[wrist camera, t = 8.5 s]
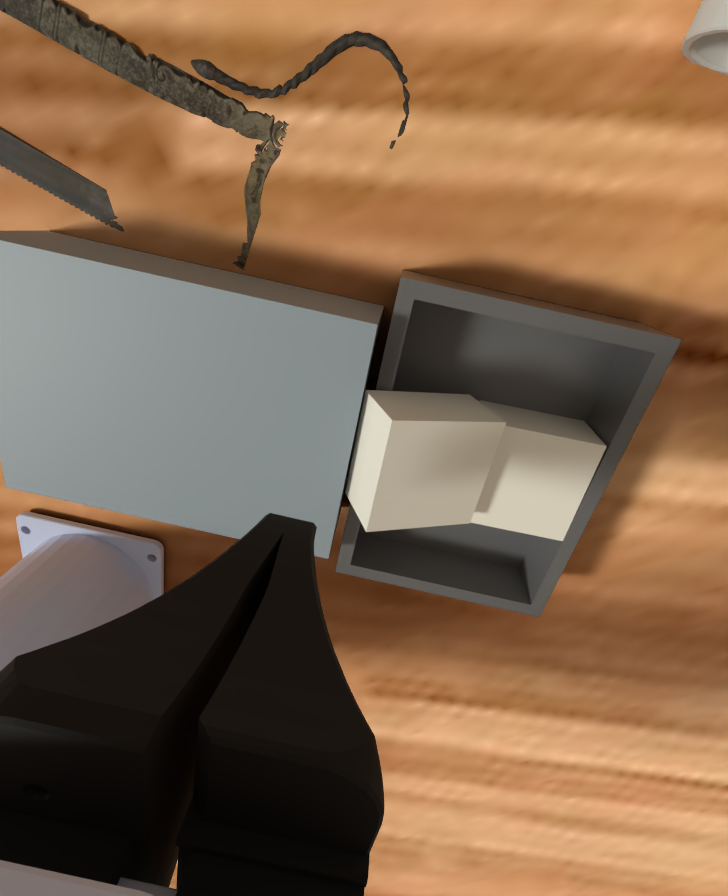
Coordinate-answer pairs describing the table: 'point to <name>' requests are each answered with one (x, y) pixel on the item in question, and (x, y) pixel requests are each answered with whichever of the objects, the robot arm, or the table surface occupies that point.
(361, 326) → the gray rectangular block
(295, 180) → the table surface
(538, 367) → the box
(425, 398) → the tile front
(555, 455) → the tile back
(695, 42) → the wrench
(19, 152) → the hacksaw
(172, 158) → the table surface
